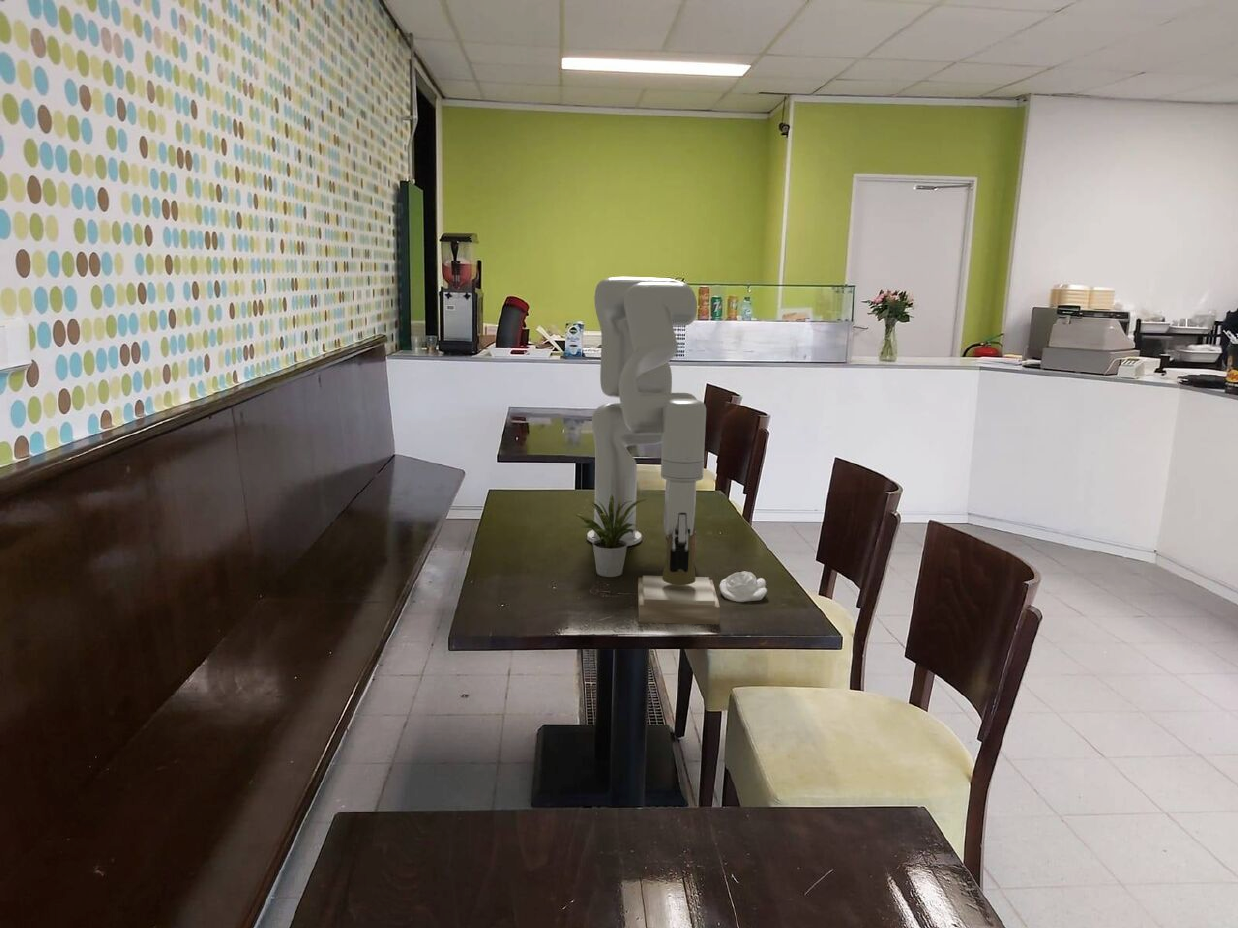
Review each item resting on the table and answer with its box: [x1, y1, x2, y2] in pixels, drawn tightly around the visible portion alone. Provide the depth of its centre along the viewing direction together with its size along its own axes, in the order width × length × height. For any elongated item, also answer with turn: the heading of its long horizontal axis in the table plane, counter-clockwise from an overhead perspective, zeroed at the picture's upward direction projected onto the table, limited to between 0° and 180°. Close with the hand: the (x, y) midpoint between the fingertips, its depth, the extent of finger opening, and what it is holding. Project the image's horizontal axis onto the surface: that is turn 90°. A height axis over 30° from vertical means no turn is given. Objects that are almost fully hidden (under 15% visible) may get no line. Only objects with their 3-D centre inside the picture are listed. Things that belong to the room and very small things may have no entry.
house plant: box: [573, 495, 647, 578], centre depth 175 cm, size 14×14×16 cm
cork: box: [662, 525, 696, 585], centre depth 156 cm, size 6×6×11 cm
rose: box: [718, 570, 768, 603], centre depth 166 cm, size 10×4×10 cm
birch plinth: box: [637, 575, 721, 625], centre depth 157 cm, size 14×14×4 cm
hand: (678, 567), depth 156 cm, fingers closed on cork, 3 cm apart
